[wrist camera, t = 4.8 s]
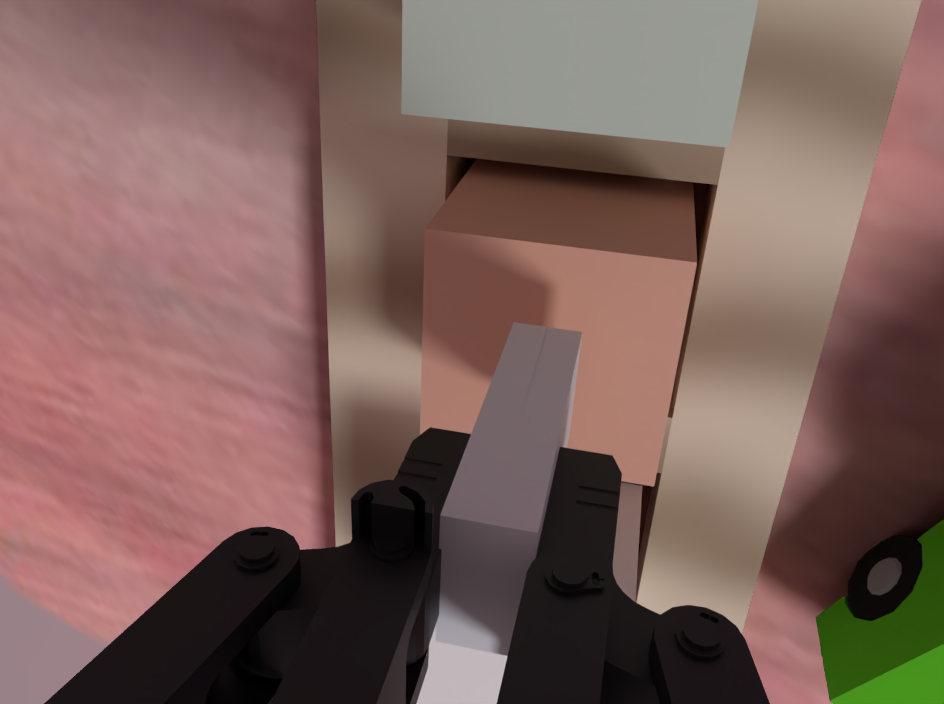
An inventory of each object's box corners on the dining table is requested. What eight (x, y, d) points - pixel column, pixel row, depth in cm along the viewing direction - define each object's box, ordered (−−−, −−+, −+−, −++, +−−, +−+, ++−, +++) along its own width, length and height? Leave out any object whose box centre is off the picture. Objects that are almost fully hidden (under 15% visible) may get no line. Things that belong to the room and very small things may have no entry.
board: (342, -355, 20) (294, -390, 17) (986, -346, 18) (1036, -385, 15) (359, 574, 34) (334, 629, 32) (720, 644, 32) (723, 708, 29)
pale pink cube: (451, 453, 27) (396, 587, 22) (642, 486, 26) (633, 633, 21) (444, 593, 30) (395, 740, 25) (616, 626, 29) (603, 786, 24)
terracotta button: (478, 156, 24) (424, 228, 19) (693, 180, 23) (697, 262, 18) (468, 341, 27) (419, 447, 22) (659, 369, 26) (653, 486, 21)
